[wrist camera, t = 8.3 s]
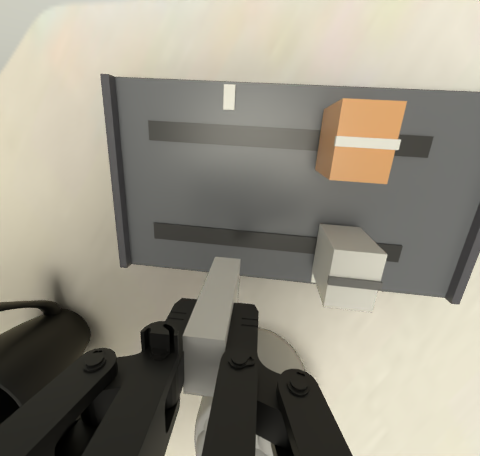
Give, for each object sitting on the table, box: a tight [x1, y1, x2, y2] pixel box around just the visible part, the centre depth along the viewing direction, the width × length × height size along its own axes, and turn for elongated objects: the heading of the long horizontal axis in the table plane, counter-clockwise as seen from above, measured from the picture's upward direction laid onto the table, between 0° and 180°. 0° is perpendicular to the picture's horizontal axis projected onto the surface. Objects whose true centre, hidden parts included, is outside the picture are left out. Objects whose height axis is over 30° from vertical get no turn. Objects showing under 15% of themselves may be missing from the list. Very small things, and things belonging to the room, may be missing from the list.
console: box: [100, 74, 480, 304], centre depth 21 cm, size 28×15×3 cm, turn 87°
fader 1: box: [315, 98, 407, 184], centre depth 16 cm, size 3×4×5 cm
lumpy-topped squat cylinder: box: [195, 328, 305, 456], centre depth 25 cm, size 10×13×9 cm
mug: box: [0, 300, 91, 424], centre depth 25 cm, size 8×12×10 cm
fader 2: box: [312, 224, 387, 313], centre depth 18 cm, size 3×4×5 cm
